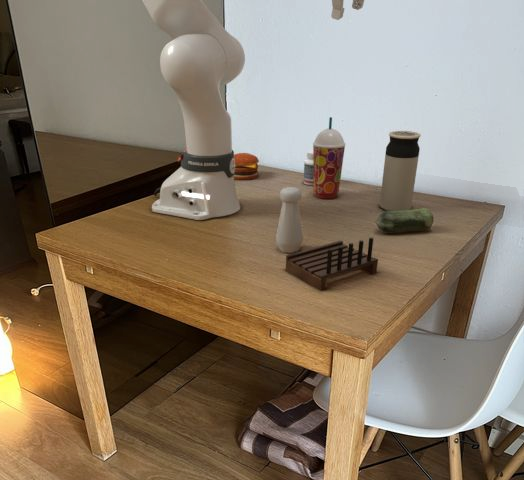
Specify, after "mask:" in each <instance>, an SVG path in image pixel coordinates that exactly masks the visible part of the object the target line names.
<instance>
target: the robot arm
mask: <svg viewBox="0 0 524 480" xmlns="http://www.w3.org/2000/svg"><path fill="white" fill-rule="evenodd" d="M344 1H345V0H331V6H332V10H331V14H330V15H331V16H330V17H331V18H332V19H333V20H336V21H339V20H341V19H342V18H343V17H344V13H345V8H344ZM141 2H142V3H143V5H144V7H145V10H147V12H148V14H149V16H150V19H152V21H153V23H154V25H156V26H157V28H159V29H160V30H161V31H163V32H164V33H166V34H167V36H169V37H170V39H172V40H171V41H169V42H168V43H167V44H165V46H164V47H163V48H162V50H161V53H160V57H159V68H160V72H161V75H162V77H163V79H164V80H165V82H166V84H168V86H170V87H171V88H172V90H173V92H174V94H175V96H176V98H177V101H178V104H179V107H180V111H181V114H182V118H183V126H184V135H185V147H186V149H185V150H184V151H183V152H182V153H180V154H179V156H177V162H178V163H179V162H180V167H179V168H178V169H176V170H175V171H174V172H173V173H172V174H171V175H170V176H168V177H167V178H166V179H165V180H164V181H163V182H162V184H161V185H160V187H158V188H156V189H155V191H154V193H153V196H154V197H157V196H158V193H159V198H158V199H156V200H155V201H154V202H153V203H152V204H151V211H152V212H153V213H158V214H161V215H162V214H163V215H168V216H174V217H180V218H184V219H185V218H186V219H190V220H196V221H204V220H208V219H212V218H220V217H226V216H230V215H233V214H235V213H237V212H238V211H240V209H241V205H240V201H239V198H238V195H237V194H238V193H237V188H236V182H235V179H234V173H235V159H234V154H235V151H234V150H233V136H232V135H233V133H232V132H233V131H232V117H231V114H230V113H229V112H228V111H227V109H226V107H225V105H224V103H223V99H222V95H221V91H220V86H225V85H228V84H229V83H231V82H233V81H234V80H235V79H236V78H237V77H238V76H240V74H241V73H242V71H243V70H244V67H245V62H246V55H245V51H244V47H243V45H242V43H241V42H240V41H239V39H237V38H236V37H235V36H234V35H232V34H231V33H229V31H227V30H226V28H224V26H223V25H222V24H221V22H220V21H219V20H218V19H217V17H216V16H215V15H214V14H213V12H212V11H211V10H210V9H209V7H208V6H207V5H206V4H205V2H204V1H203V0H141ZM364 3H365V0H352V4H351V8H352V9H354V10H357V11H359V10H361V9H362V8H363V7H364Z"/></svg>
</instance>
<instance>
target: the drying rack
mask: <svg viewBox="0 0 524 480" xmlns="http://www.w3.org/2000/svg"><path fill="white" fill-rule="evenodd" d="M367 245H368V246H367V253H364V252H363V250H364V240H362V239H361V240H359V241H358V249H355V248H354V243H353V242H349V243H348V245H347V244H345V243H344V241H343V240H338V241H333V242H330V243H326V244H323V245H318V246H315V247H312V248H308V249H303V250H301V251H300V250H299V251H296V252H293V253H288V254H286V255H285V271H286V272H288V273H290V274H291V275H293V276H295V277H296V278H298V279H300V280H301V281H303V282H305V283H307V284H309V285H310V286H312V287H314V288H315V289H317V290H318V291H325V290H326V289H327V279H329V278H333V277H335V276H339V275H342V274H345V273H348V272H352V271H354V270H358V269H359V270H363V271H364V272H367V273H369V274H371V275H375V274H377V271H378V264H379V263H378V262H379V259H378V258H377V257H373V256H372V254H373V246H374V237H369V238H368V244H367Z"/></svg>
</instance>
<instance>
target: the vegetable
mask: <svg viewBox="0 0 524 480" xmlns="http://www.w3.org/2000/svg"><path fill="white" fill-rule="evenodd" d="M434 218H435V217H434V213H433V212H432V211H431V210H430V209H428V208H427V207H421V208H416V209H408V210H397V211H388V210H384V211H382V212H381V213H379V215H378V216H377V219H376V221H374V224H375V225H376V227H377V229H378V231H379V232H380V233H383V234H394V233H395V234H397V233H406V232H407V233H408V232H409V233H410V232H425V231H426V232H427V231H428V230H429V229H431V227H432V226H433V224H434Z"/></svg>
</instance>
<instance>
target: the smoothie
mask: <svg viewBox="0 0 524 480" xmlns="http://www.w3.org/2000/svg"><path fill="white" fill-rule="evenodd" d="M332 125H333V117H331V116H330V117H329V119H328V128H325V129H323V130H321V131H320V132H319V133H318V134H317V136H316V137H315V140H314V141H313V142H312V145H313V146H312V150H313V164H314V185H313V192H314V193H315V197H317V198H319V199H324V200H326V199H327V200H329V199H334V198H336V197H337V195H338V193H339V192H340V187H341V186H340V185H341V177H342V172H343V171H342V170H343V163H344V157H345V150H346V149H345V148H346V142H345V140H344V137H343V135H342V134H341V132H340V131H338V130H336V129H334V128H332Z"/></svg>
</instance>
